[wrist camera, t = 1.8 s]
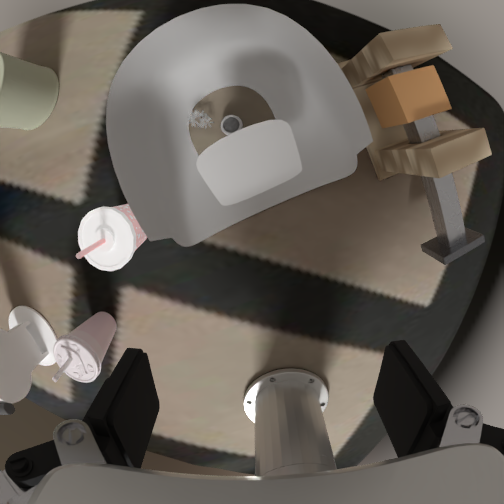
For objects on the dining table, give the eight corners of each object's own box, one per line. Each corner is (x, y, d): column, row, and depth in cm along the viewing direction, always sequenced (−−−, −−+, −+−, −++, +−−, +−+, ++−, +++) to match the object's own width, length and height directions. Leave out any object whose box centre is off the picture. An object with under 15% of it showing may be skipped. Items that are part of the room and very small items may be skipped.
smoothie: (105, 294, 38) (51, 350, 24) (134, 331, 39) (94, 397, 26) (78, 314, 39) (26, 369, 25) (105, 348, 40) (64, 411, 27)
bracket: (429, 158, 33) (497, 163, 20) (378, 180, 34) (438, 192, 21) (384, 52, 29) (438, 14, 16) (329, 67, 30) (368, 24, 17)
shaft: (459, 231, 31) (484, 241, 26) (422, 251, 31) (445, 264, 27) (396, 48, 25) (417, 33, 20) (351, 59, 26) (367, 43, 21)
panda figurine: (-1, 311, 39) (-54, 352, 24) (33, 293, 38) (-28, 341, 23) (33, 368, 42) (-9, 418, 28) (71, 359, 41) (26, 419, 27)
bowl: (278, 28, 29) (289, -23, 17) (348, 172, 34) (392, 179, 22) (123, 100, 31) (72, 79, 20) (191, 243, 36) (165, 280, 24)
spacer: (422, 114, 28) (451, 108, 22) (382, 128, 28) (408, 123, 23) (406, 77, 27) (433, 65, 21) (365, 89, 27) (387, 76, 21)
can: (19, 71, 28) (-35, 57, 17) (65, 63, 29) (10, 40, 17) (8, 131, 31) (-50, 131, 19) (52, 129, 31) (-9, 125, 20)
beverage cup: (118, 248, 36) (58, 292, 22) (110, 199, 34) (43, 222, 21) (164, 244, 36) (118, 291, 22) (157, 193, 34) (104, 213, 21)
